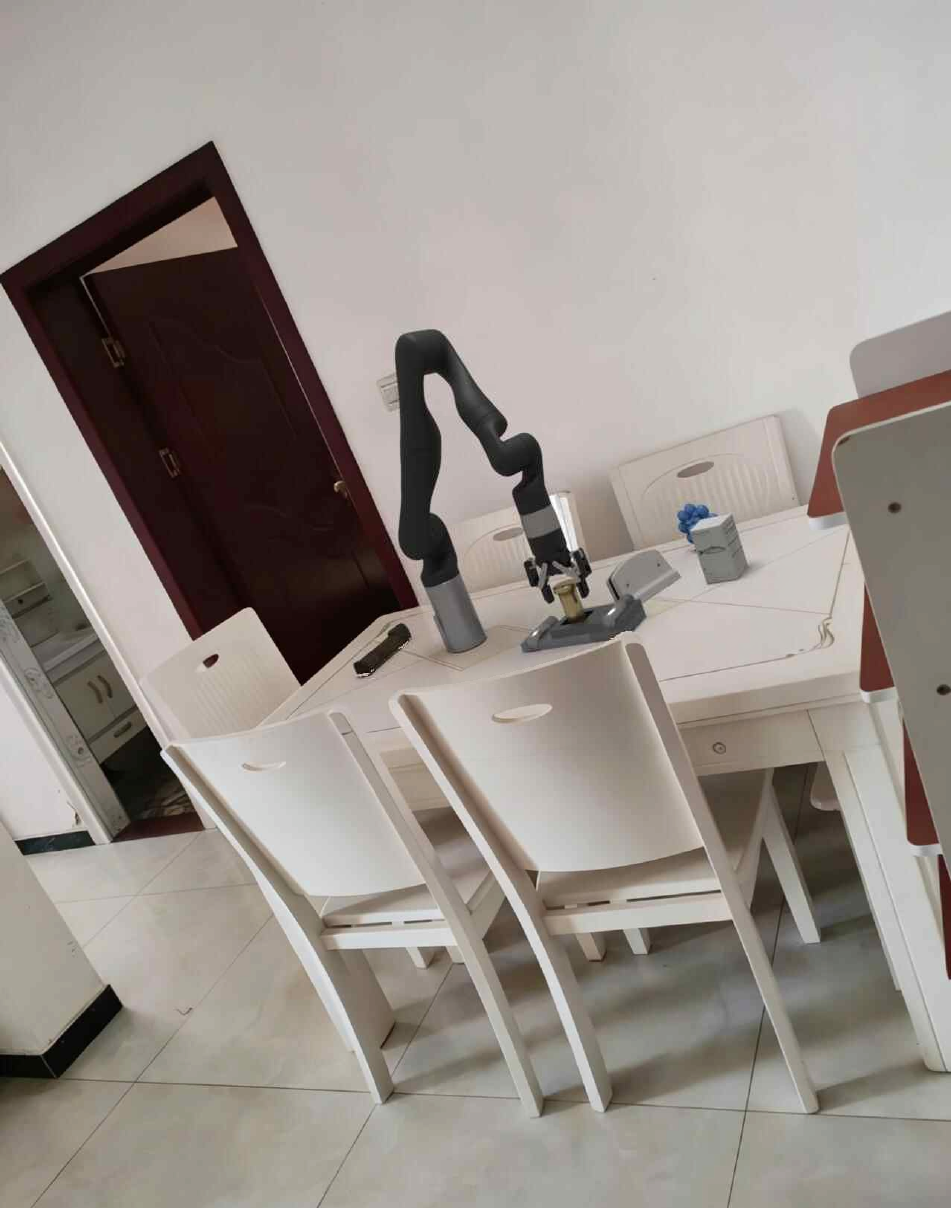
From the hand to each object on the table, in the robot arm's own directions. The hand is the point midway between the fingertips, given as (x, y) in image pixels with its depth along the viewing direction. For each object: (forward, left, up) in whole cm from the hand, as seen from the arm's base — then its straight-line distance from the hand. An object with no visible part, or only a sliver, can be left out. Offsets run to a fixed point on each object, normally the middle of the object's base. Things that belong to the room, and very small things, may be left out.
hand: (568, 599), depth 200 cm
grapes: (+14, +41, -9) cm, 45 cm away
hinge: (+7, +20, -9) cm, 23 cm away
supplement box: (+26, +21, -9) cm, 35 cm away
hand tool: (-62, +6, -9) cm, 63 cm away
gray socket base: (0, 0, -9) cm, 9 cm away
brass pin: (0, 0, -9) cm, 9 cm away
